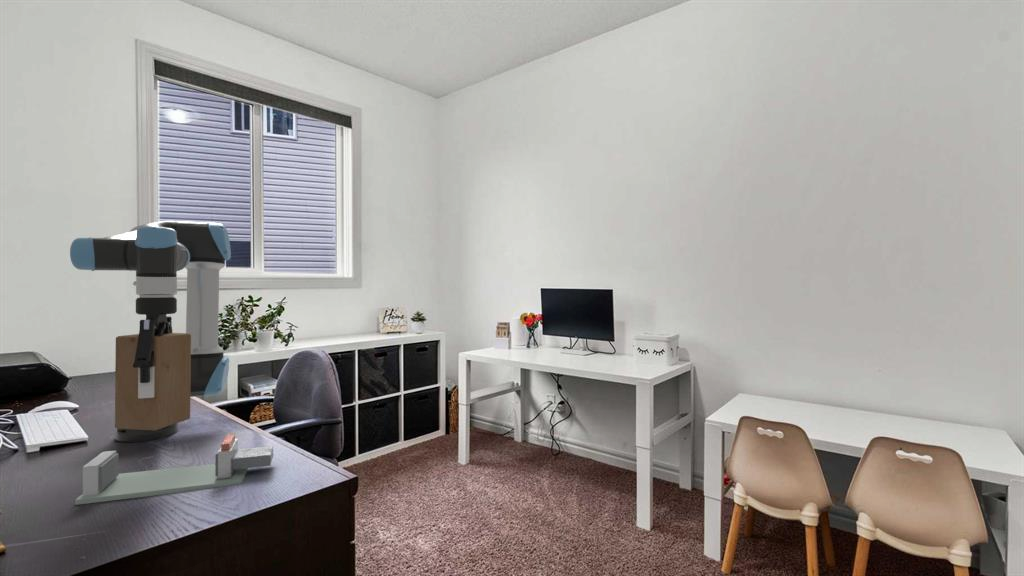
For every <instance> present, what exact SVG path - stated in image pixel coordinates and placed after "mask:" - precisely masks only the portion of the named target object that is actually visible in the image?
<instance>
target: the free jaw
mask: <svg viewBox="0 0 1024 576" xmlns="http://www.w3.org/2000/svg"><path fill="white" fill-rule="evenodd" d="M214 458H215V461H214V464H215V476H218V479H221V478H230V477H231V476H232V474H233V472H234V470H235V469H244V468H248V469H250V468H251V469H252V468H260V467H268V466H269V467H271V465H272V463H273V458H274V445H270V446H260V447H250V448H249V447H247V448H239V438H238V437H237V438H236V433H230V434H227V435H226V436H225V438H224V439H223V441H222V443H220V446H219V448H218V449H217V451H216V453H215V457H214Z"/></svg>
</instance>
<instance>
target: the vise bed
mask: <svg viewBox="0 0 1024 576" xmlns="http://www.w3.org/2000/svg"><path fill="white" fill-rule="evenodd" d="M119 455H120V454H119V453H118V452H117V450H106V451H102V452H100V453H99V454H98V455H97V456H95V457H94V458H93V459H91V460H90V461H89V462H87V463H86V464H84V465H83V466H82V493H81V495H80V496H78V497H77V498H76V499H75V501H74V502H75V503H74V504H75V506H76V505H77V506H78V505H84V504H92V503H93V504H95V503H103V502H110V501H119V500H126V499H127V500H128V499H134V498H136V499H137V498H144V497H145V498H146V497H151V496H152V497H153V496H159V495H167V494H175V493H181V492H189V491H196V490H205V489H209V488H217V487H218V488H219V487H223V486H226V487H227V486H233V485H238V484H243V481H244V479H245V476H246V474H247V471H248V469H249V468H244V469H235V470H234V472H233V474H232V476H231V477H230V478H221V479H218V476H215V463H208V464H201V465H199V464H198V465H190V466H182V467H172V468H171V467H170V468H161V469H154V470H153V469H151V470H142V471H134V472H133V471H132V472H125V473H124V472H122V473H120V472H119V469H120V468H119V467H120V465H119V461H120V459H119V458H120V457H119Z"/></svg>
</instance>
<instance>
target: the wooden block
mask: <svg viewBox="0 0 1024 576" xmlns="http://www.w3.org/2000/svg"><path fill="white" fill-rule="evenodd" d="M138 336H139V333H136V334H128V335H119V336H116V337H115V363H114V364H115V368H114V369H115V370H114V374H115V378H114V380H115V381H114V383H115V385H114V386H115V387H114V428H115V429H117V428H118V429H136V430H158V429H161V428H164V427H167V426H170V425H173V424H176V423H178V424H179V423H181V422H185V421H187V420H190V418H191V397H190V386H191V334H189V333H186V332H173V333H169V334H166V333H165V334H163V335H162V336H154V340H153V346H152V351H154V362H153V366H155V386H154V397H153V398H139V399H138V368H133V363H134V361H135V355H136V349H137V343H138Z"/></svg>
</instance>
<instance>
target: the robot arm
mask: <svg viewBox="0 0 1024 576" xmlns="http://www.w3.org/2000/svg"><path fill="white" fill-rule="evenodd" d="M231 250H232V249H231V244H230V236H229V233H228V230H227V228H226V226H225V225H224V224H222V223H220V222H219V223H218V222H210V221H186V220H184V221H182V220H181V221H180V220H160V221H154V222H150V223H149V222H148V223H145V224H140V225H137V226H134V227H133V228H131V229H130V230H129V231H126V232H123V233H119V234H114V235H110V236H105V237H91V236H89V237H77V238H75V239H74V240H73V241H72V242H71V244H70V248H69V257H70V262H71V264H72V266H73V267H74V268H75V269H77V270H82V271H91V272H95V271H130V272H131V271H132V272H133V271H134V272H135V280H134V281H133V282H132V285H133V286H135V295H137V296H139V297H137V298H136V299H135V313H136V314H137V315H145V319H140V320H139V332H138V334H139V336H138V343H137V349H136V355H135V361H134V363H133V368H138V399H139V398H153V397H154V386H155V366H153V362H154V351H152V346H153V340H154V336H162V335H163V334H165V333H166V334H169V333H174V332H173V326H172V325H173V324H172V323H173V322H172V320H173V318H172V316H167V315H173V314H174V315H175V314H176V313H177V311H178V310H177V309H178V308H177V307H178V305H177V304H178V299H177V297H175V295H177V294H178V278H177V275H178V274H177V272H179V271H182V270H183V269H186V306H185V307H186V308H185V309H186V310H185V313H186V316H185V333H189V334H191V386H190V398H193V397H194V398H196V397H204V398H206V397H208V396H217V395H220V394H221V393H223V391H224V390H225V387H226V384H227V382H228V377H229V376H228V375H229V370H230V359H229V357H228V356H224V350H223V349H221V348H220V347H219V314H220V312H219V311H220V309H219V308H220V307H219V306H220V305H219V304H220V303H219V302H220V301H219V300H220V296H219V295H220V271H221V270H222V268H224V267H225V266H226V261H229V260H231V259H232V258H231V257H232V255H231V253H232V251H231ZM178 431H179V423H176V424H173V425H170V426H167V427H164V428H161V429H158V430H136V429H118V428H116V430H115V440H116V441H117V442H122V443H138V442H147V441H154V440H159V439H163V438H166V437H167V438H168V437H170V436H172V435H174V434H176V433H178Z"/></svg>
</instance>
